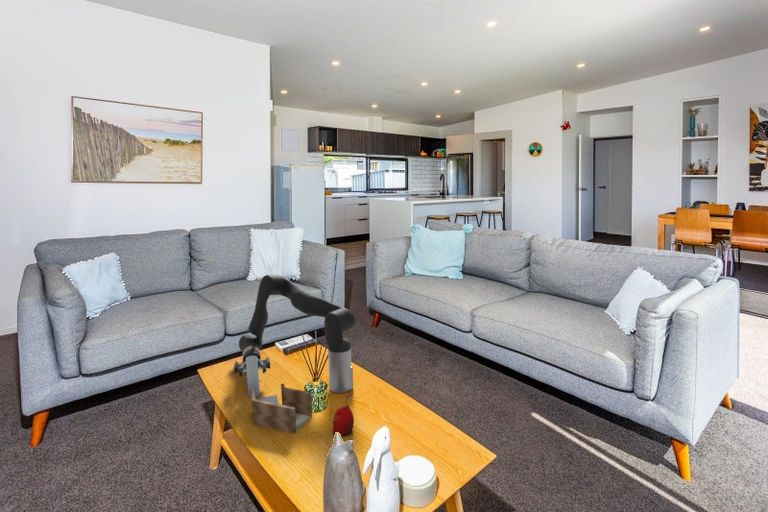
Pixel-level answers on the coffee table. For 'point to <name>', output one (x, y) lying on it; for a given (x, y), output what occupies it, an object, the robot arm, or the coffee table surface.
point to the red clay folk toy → (343, 419)
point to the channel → (283, 410)
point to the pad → (270, 399)
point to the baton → (252, 375)
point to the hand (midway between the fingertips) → (252, 372)
